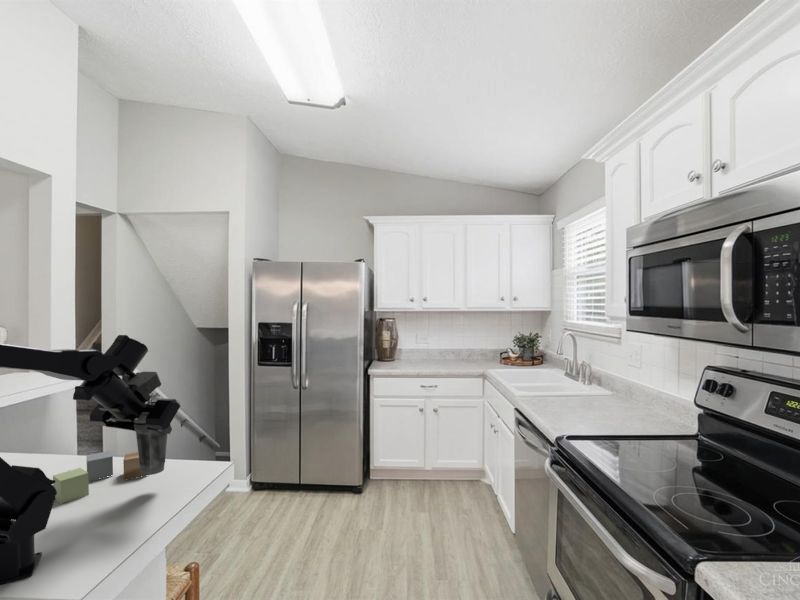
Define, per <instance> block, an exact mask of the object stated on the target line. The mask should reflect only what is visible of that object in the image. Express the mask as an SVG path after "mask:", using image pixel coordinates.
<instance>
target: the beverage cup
mask: <svg viewBox="0 0 800 600" xmlns="http://www.w3.org/2000/svg"><path fill="white" fill-rule="evenodd" d="M150 394H151V393H150ZM150 394H149V395H150ZM150 396H151V395H150ZM155 403H156V401H151V399H150V400H149V401H148V402H146V403H145V404H153V405H154V404H155ZM146 417H147V416H140V417H139V418H138V419H135V420H134V422H133V424H134V428H135V431H134V432H135V435H136V444H137V451H138V454H139V463H140V469H141V474H142V475H148V476H153V475H157V474H160V473H162V472H163V471H164V470H165V463H166V456H167V455H166V454H167V441H168V434H166V433H161V432H157V431H152V430H148V429H147V428H148V426H147V425H146Z"/></svg>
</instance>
